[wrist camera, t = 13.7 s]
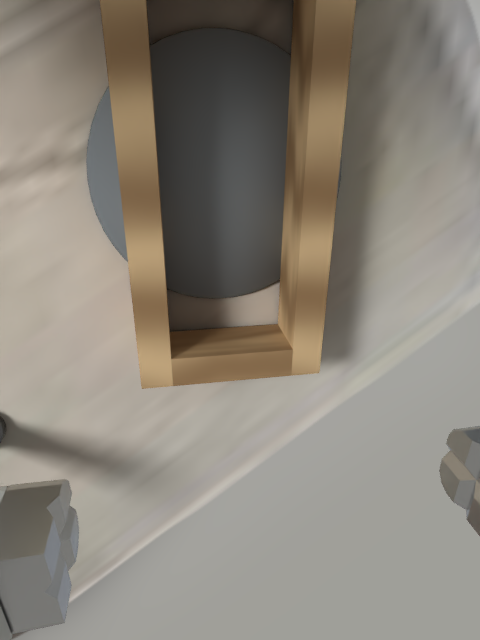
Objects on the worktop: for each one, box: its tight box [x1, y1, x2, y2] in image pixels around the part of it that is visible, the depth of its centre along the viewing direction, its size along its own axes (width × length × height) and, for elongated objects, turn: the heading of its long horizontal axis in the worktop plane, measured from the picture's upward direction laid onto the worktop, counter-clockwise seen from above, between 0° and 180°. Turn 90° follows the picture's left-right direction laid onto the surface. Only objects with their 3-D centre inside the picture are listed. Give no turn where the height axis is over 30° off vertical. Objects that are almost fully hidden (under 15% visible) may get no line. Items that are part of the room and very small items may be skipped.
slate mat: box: [86, 28, 341, 298], centre depth 27 cm, size 16×16×1 cm
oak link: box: [100, 0, 356, 389], centre depth 25 cm, size 24×12×4 cm, turn 0°
